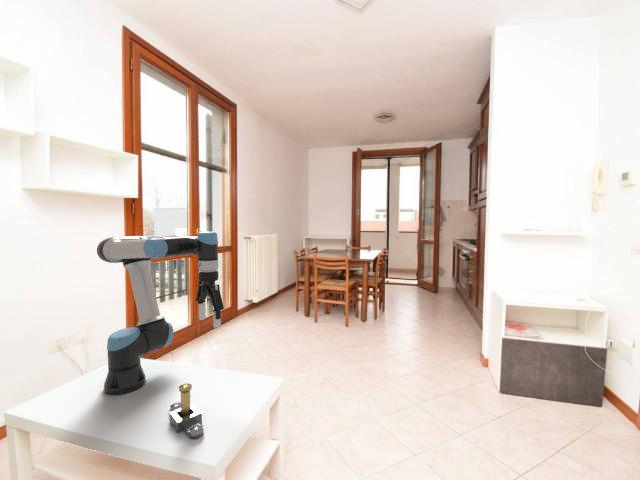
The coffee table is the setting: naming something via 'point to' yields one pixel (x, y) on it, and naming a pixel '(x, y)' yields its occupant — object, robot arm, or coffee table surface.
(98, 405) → the coffee table surface
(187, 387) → the pin
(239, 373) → the coffee table surface
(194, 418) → the chain ends
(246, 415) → the coffee table surface
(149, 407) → the coffee table surface
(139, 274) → the robot arm
